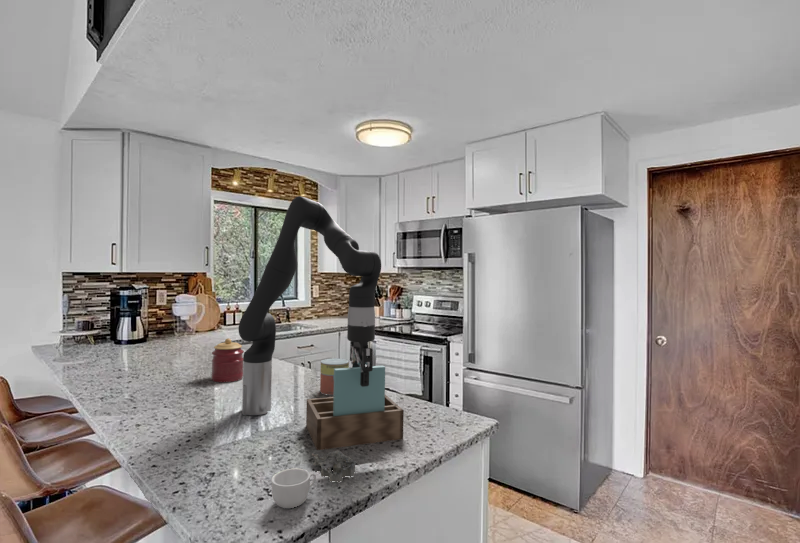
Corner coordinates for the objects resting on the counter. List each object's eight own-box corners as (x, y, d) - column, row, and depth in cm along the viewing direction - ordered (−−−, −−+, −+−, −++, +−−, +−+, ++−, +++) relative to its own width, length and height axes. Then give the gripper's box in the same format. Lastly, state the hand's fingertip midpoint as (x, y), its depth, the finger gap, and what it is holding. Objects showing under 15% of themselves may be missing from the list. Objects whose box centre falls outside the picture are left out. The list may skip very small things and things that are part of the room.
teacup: (283, 518, 83) (284, 490, 83) (263, 502, 88) (264, 476, 88) (325, 499, 90) (326, 473, 90) (305, 485, 95) (305, 461, 95)
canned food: (329, 397, 162) (330, 365, 162) (314, 390, 170) (315, 360, 170) (354, 392, 169) (354, 361, 169) (338, 385, 178) (339, 357, 178)
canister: (249, 378, 187) (250, 338, 187) (223, 384, 176) (224, 342, 176) (231, 374, 194) (231, 335, 194) (204, 379, 183) (205, 338, 183)
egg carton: (309, 469, 103) (309, 452, 103) (335, 461, 108) (335, 444, 108) (332, 486, 95) (332, 468, 95) (359, 476, 100) (360, 459, 100)
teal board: (334, 445, 114) (335, 370, 114) (332, 442, 115) (334, 368, 115) (383, 438, 119) (385, 367, 119) (381, 436, 120) (382, 365, 120)
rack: (316, 455, 110) (317, 419, 110) (306, 431, 127) (306, 399, 127) (402, 444, 119) (403, 410, 119) (382, 422, 136) (382, 392, 136)
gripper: (341, 320, 122) (340, 376, 122) (354, 326, 109) (353, 390, 109) (367, 319, 125) (365, 375, 125) (382, 326, 112) (381, 387, 112)
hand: (360, 382), depth 117 cm, fingers open, 8 cm apart
